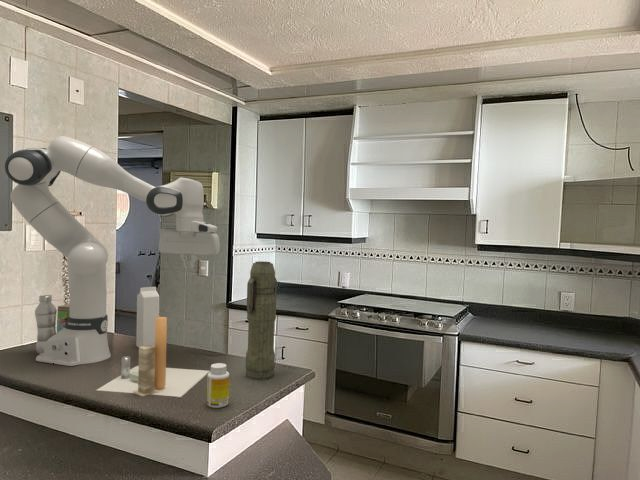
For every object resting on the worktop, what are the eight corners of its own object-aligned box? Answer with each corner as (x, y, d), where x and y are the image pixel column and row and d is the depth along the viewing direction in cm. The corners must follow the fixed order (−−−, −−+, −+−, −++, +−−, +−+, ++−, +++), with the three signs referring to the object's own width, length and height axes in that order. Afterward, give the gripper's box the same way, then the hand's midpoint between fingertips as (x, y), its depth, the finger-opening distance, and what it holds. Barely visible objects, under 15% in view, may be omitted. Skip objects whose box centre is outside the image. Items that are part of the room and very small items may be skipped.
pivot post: (119, 378, 139) (119, 358, 139) (123, 376, 142) (124, 356, 142) (127, 379, 139) (127, 358, 139) (131, 376, 142) (131, 356, 141)
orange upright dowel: (127, 379, 138) (128, 313, 137) (136, 376, 140) (137, 311, 139) (159, 389, 130) (160, 319, 130) (167, 386, 133) (169, 317, 132)
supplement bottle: (233, 404, 123) (234, 365, 123) (215, 410, 119) (216, 370, 119) (220, 398, 127) (221, 360, 127) (202, 404, 123) (203, 365, 123)
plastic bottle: (62, 352, 165) (60, 294, 165) (43, 357, 159) (41, 297, 159) (50, 351, 168) (49, 294, 168) (31, 355, 162) (29, 296, 162)
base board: (95, 391, 130) (95, 390, 130) (136, 366, 152) (137, 365, 152) (180, 397, 127) (180, 396, 127) (209, 371, 149) (209, 370, 149)
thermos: (282, 372, 151) (285, 261, 149) (260, 383, 140) (264, 264, 139) (259, 367, 155) (262, 260, 153) (236, 377, 144) (239, 262, 143)
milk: (158, 347, 176) (160, 287, 175) (142, 349, 172) (143, 288, 171) (151, 343, 180) (153, 285, 179) (135, 346, 176) (137, 286, 175)
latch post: (142, 398, 126) (143, 350, 125) (132, 393, 129) (133, 347, 129) (159, 393, 130) (160, 347, 129) (149, 388, 133) (150, 343, 132)
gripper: (155, 225, 158) (154, 267, 158) (215, 227, 156) (214, 269, 156) (164, 225, 164) (163, 265, 165) (221, 227, 162) (220, 268, 162)
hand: (188, 267), depth 160 cm, fingers closed
